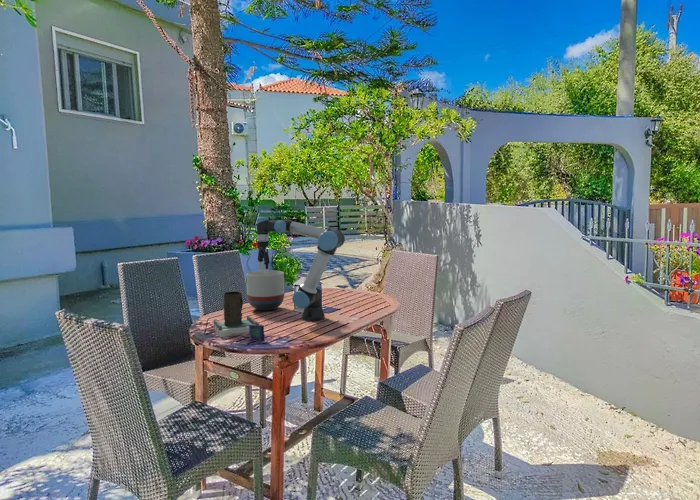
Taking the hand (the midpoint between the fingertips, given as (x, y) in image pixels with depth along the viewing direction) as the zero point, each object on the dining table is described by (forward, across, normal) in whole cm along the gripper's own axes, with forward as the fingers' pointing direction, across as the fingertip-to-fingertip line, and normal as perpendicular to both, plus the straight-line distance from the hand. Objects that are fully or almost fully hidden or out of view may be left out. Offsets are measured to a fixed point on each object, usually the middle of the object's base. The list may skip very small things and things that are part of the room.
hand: (263, 272), depth 320 cm
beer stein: (+28, +17, -24) cm, 40 cm away
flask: (+32, +44, -17) cm, 57 cm away
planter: (+32, -29, +9) cm, 44 cm away
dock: (+32, +19, -24) cm, 44 cm away
